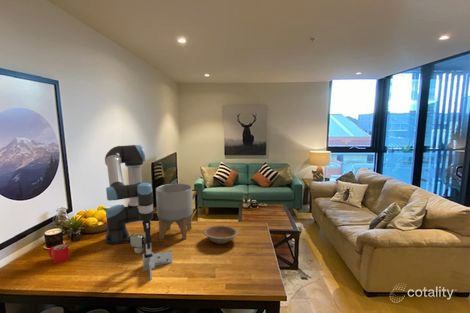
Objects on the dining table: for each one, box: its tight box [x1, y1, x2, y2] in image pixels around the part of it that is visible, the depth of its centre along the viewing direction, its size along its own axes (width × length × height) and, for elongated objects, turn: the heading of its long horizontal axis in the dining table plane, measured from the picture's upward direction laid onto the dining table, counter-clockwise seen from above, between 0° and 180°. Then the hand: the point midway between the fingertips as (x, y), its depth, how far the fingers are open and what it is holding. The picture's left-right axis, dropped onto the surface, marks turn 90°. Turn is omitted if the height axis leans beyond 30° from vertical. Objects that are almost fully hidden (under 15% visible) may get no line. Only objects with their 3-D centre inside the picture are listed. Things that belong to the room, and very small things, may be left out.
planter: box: [155, 182, 194, 241], centre depth 187 cm, size 25×25×34 cm
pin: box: [143, 237, 151, 258], centre depth 146 cm, size 4×4×17 cm
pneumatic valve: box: [127, 233, 145, 254], centre depth 163 cm, size 6×12×12 cm, turn 78°
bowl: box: [202, 224, 239, 245], centre depth 177 cm, size 24×24×8 cm
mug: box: [47, 243, 70, 264], centre depth 155 cm, size 8×12×8 cm, turn 86°
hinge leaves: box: [142, 249, 173, 281], centre depth 144 cm, size 16×16×7 cm
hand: (147, 247), depth 145 cm, fingers open, 13 cm apart
